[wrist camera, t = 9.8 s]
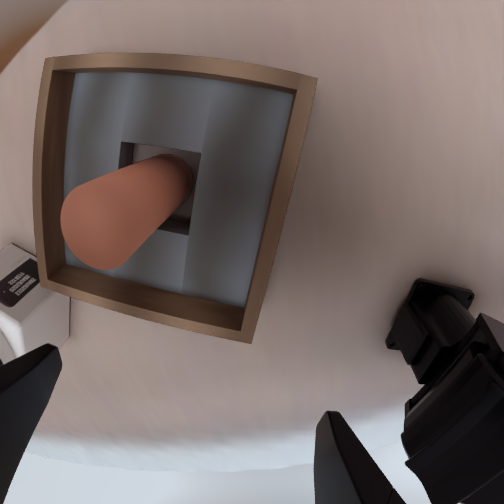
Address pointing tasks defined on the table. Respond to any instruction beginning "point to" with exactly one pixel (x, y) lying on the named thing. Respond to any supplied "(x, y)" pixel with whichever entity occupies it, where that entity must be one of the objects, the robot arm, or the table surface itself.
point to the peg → (123, 209)
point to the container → (28, 307)
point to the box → (207, 187)
